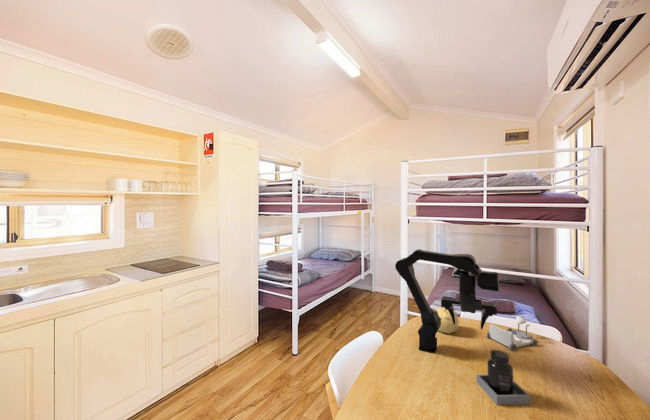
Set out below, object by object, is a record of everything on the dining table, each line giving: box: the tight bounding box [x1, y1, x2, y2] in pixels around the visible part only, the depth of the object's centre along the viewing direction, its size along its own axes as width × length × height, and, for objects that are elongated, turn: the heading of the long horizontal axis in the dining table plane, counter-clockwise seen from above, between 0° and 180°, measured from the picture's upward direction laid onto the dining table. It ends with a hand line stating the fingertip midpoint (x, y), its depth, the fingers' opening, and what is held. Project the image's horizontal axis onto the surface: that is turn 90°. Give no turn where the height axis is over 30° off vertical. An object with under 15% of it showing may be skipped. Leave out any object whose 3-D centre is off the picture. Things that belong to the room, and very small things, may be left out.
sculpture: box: [434, 307, 459, 334], centre depth 125 cm, size 12×12×11 cm
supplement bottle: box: [486, 349, 514, 395], centre depth 82 cm, size 7×7×12 cm
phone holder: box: [486, 315, 538, 352], centre depth 114 cm, size 18×10×12 cm
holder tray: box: [476, 374, 531, 406], centre depth 83 cm, size 10×10×2 cm
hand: (467, 326), depth 100 cm, fingers open, 9 cm apart
